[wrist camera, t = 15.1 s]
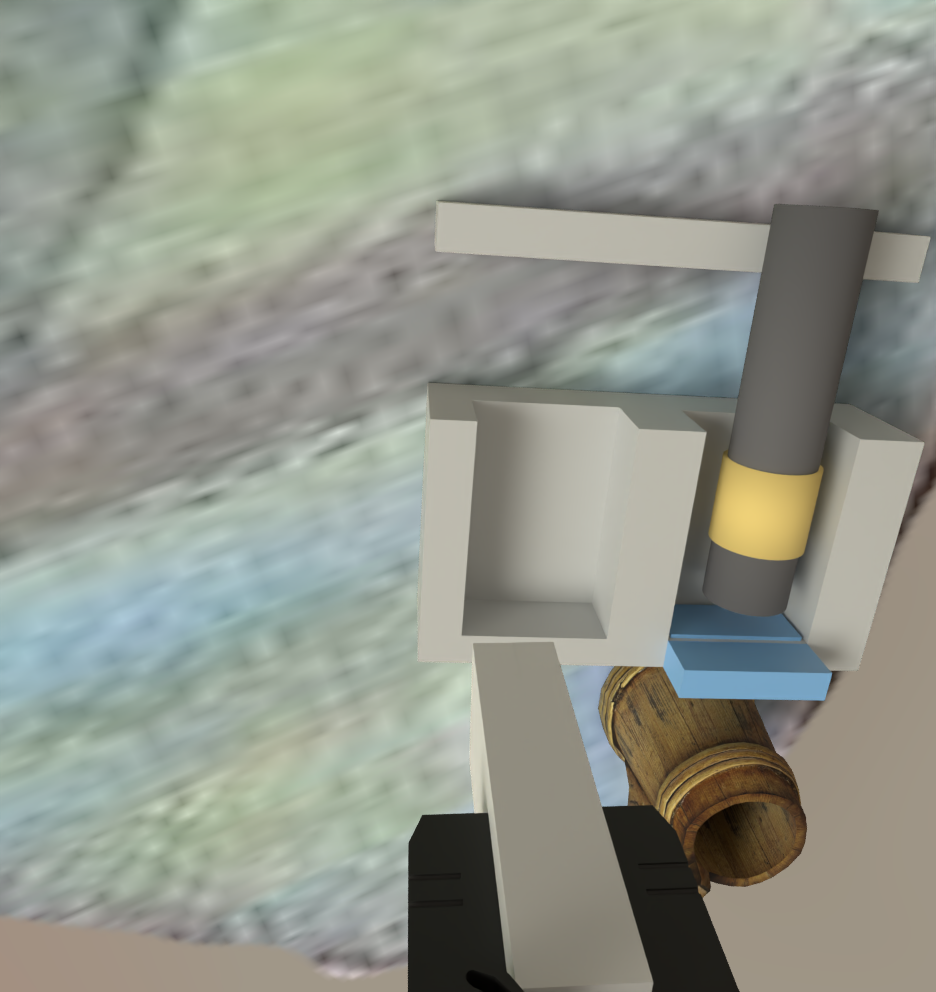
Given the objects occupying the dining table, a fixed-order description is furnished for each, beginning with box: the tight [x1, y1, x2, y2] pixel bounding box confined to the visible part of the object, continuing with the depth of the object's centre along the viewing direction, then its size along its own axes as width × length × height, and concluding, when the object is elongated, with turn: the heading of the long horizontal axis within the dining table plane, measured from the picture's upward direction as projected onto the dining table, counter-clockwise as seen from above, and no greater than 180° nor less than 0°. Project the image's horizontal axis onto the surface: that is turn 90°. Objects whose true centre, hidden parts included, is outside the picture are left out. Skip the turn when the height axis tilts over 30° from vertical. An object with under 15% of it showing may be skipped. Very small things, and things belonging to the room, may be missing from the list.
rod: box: [702, 204, 879, 617], centre depth 36 cm, size 18×4×4 cm, turn 176°
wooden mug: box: [598, 666, 807, 898], centre depth 39 cm, size 9×14×18 cm, turn 132°
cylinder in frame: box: [417, 201, 931, 701], centre depth 37 cm, size 20×22×9 cm
